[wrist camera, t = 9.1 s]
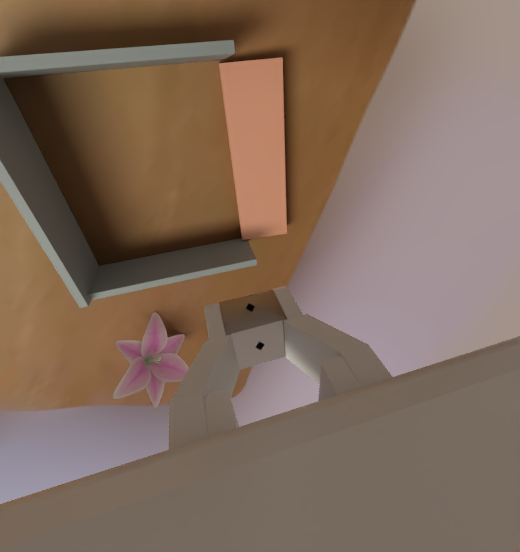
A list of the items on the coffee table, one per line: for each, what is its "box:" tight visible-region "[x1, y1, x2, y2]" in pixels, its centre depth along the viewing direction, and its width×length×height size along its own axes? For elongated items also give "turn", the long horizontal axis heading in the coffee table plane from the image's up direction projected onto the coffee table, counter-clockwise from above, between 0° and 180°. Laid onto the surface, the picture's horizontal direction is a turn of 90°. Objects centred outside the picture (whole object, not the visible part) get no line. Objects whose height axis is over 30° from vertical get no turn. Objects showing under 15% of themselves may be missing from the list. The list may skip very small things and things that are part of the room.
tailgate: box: [219, 57, 287, 240], centre depth 31 cm, size 18×1×6 cm
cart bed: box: [0, 40, 257, 308], centre depth 27 cm, size 21×20×7 cm
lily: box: [113, 312, 189, 407], centre depth 40 cm, size 12×12×10 cm
